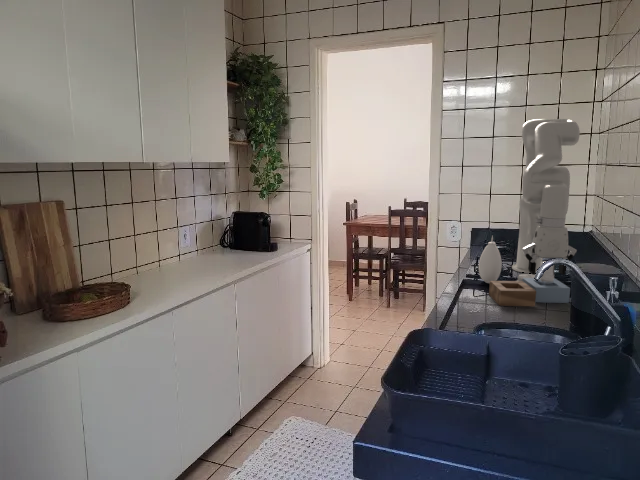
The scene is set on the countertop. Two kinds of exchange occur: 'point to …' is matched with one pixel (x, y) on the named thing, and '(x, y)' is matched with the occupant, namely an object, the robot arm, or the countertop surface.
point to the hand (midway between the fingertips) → (546, 273)
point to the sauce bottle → (490, 263)
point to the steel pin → (547, 276)
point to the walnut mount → (512, 293)
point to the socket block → (549, 291)
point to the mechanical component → (525, 276)
